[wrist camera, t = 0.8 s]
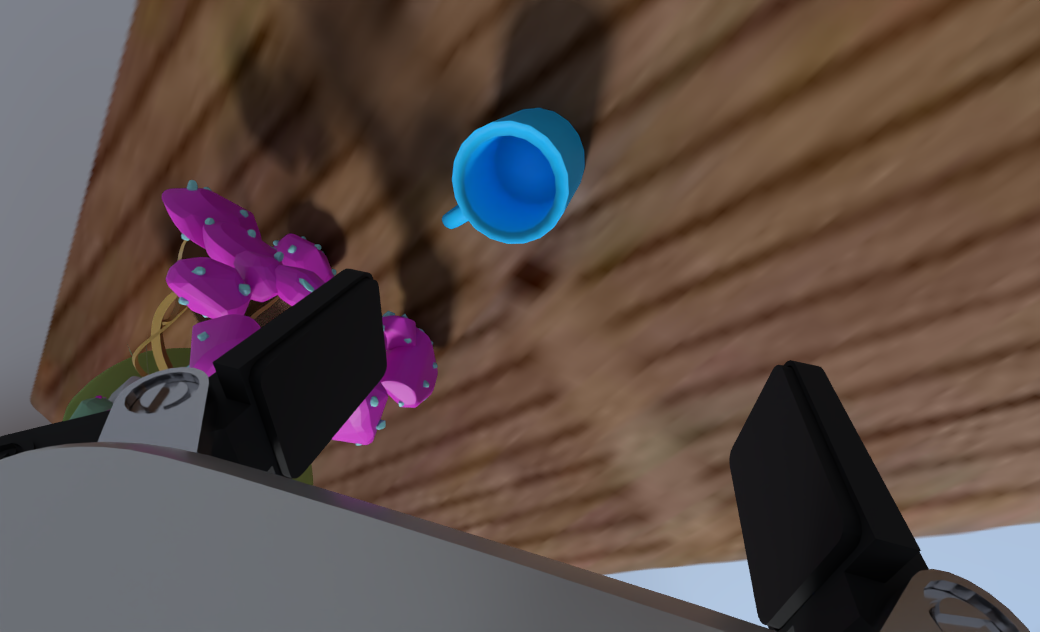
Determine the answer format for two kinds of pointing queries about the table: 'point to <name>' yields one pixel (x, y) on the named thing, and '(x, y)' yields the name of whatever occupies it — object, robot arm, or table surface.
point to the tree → (225, 297)
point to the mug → (516, 176)
